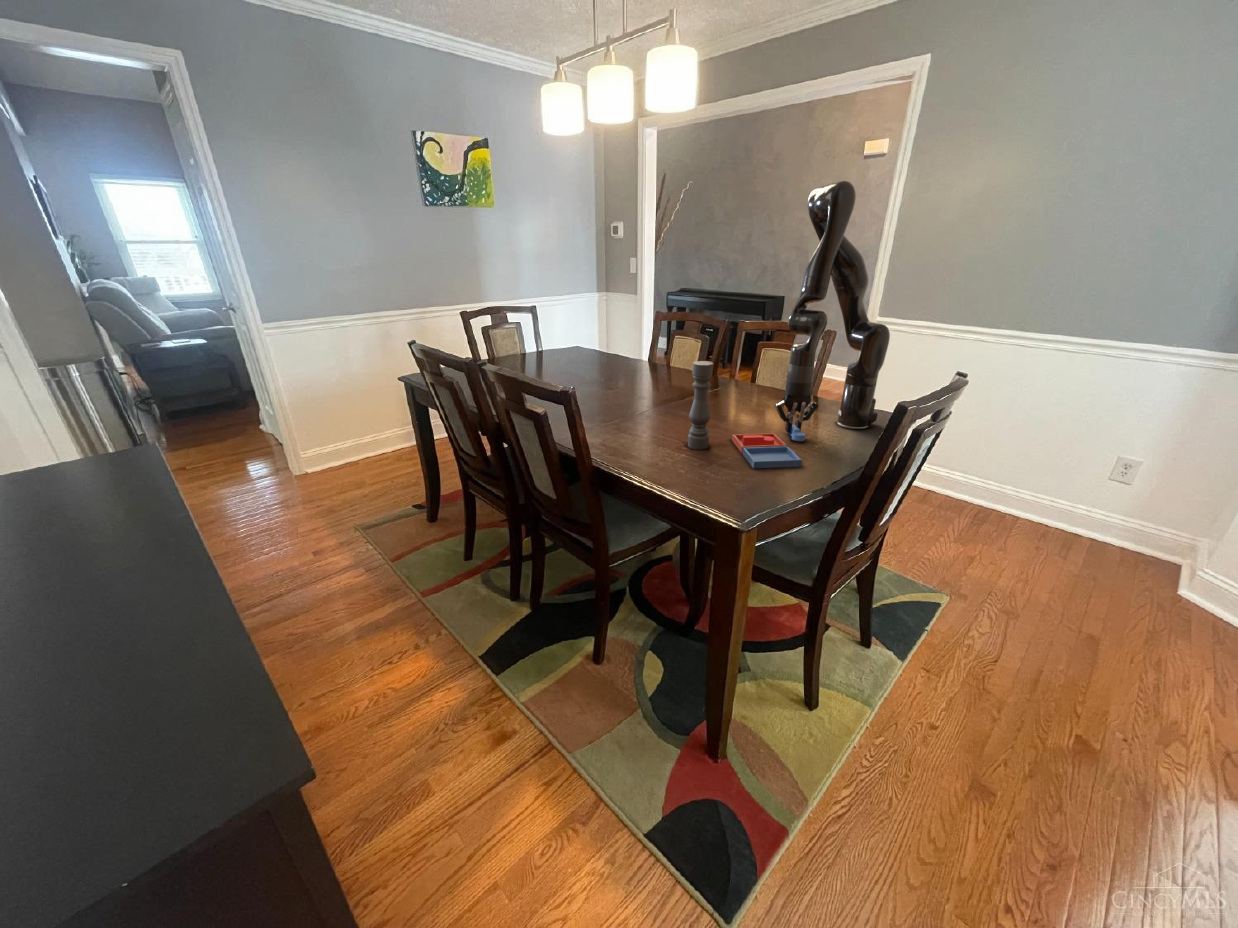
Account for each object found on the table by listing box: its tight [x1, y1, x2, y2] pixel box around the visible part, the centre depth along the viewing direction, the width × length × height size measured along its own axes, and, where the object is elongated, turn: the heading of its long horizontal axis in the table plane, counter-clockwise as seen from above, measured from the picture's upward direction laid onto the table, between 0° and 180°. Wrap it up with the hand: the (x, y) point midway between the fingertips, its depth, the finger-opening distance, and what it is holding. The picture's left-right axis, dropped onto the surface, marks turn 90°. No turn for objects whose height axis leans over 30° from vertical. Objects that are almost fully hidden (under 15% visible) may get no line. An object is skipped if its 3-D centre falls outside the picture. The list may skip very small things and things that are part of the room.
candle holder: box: [687, 360, 714, 451], centre depth 143 cm, size 6×6×25 cm
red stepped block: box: [742, 435, 774, 446], centre depth 147 cm, size 9×4×3 cm, turn 93°
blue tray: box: [741, 445, 803, 469], centre depth 137 cm, size 13×10×2 cm
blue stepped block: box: [789, 424, 806, 442], centre depth 152 cm, size 9×4×3 cm, turn 4°
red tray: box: [731, 432, 788, 454], centre depth 147 cm, size 13×10×2 cm
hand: (792, 433), depth 154 cm, fingers closed on blue stepped block, 2 cm apart
